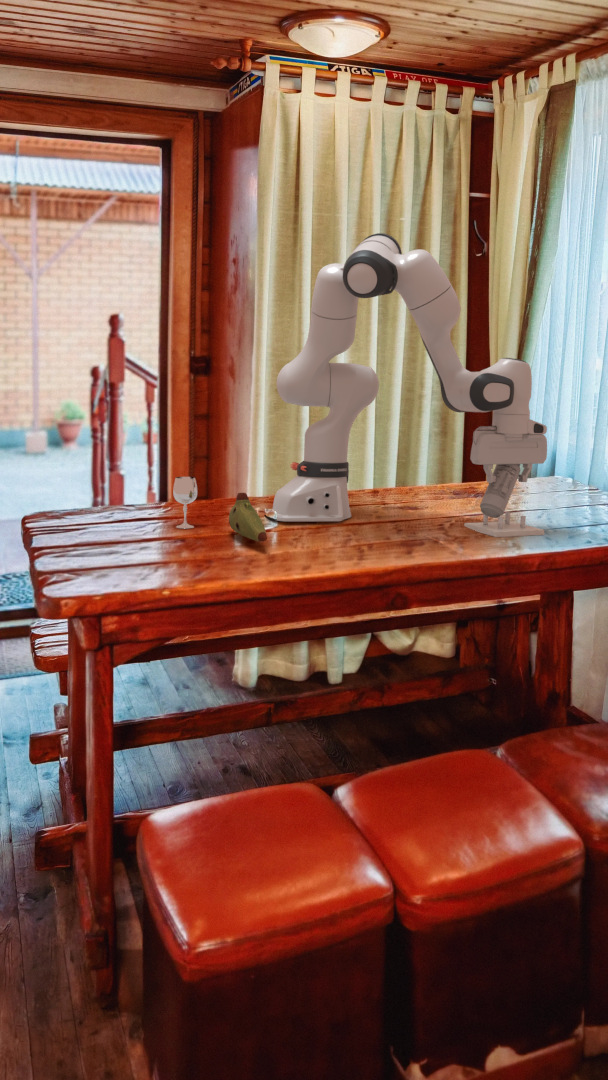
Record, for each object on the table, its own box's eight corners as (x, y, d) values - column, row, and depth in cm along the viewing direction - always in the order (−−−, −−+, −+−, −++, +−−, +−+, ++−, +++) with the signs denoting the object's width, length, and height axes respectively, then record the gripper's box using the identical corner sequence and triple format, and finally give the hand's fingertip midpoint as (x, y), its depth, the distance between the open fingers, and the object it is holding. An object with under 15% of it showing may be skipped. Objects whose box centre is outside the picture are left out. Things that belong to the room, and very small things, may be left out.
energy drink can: (504, 521, 222) (524, 469, 226) (499, 509, 217) (520, 457, 221) (481, 516, 225) (501, 465, 229) (476, 504, 220) (497, 453, 224)
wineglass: (170, 525, 220) (170, 476, 218) (193, 524, 222) (194, 476, 220) (176, 529, 215) (176, 479, 212) (199, 528, 217) (199, 478, 214)
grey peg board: (495, 537, 215) (496, 519, 215) (464, 527, 228) (465, 511, 227) (544, 534, 221) (545, 517, 220) (510, 525, 233) (511, 509, 233)
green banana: (277, 544, 199) (278, 499, 197) (254, 546, 196) (255, 500, 195) (241, 530, 216) (242, 489, 215) (220, 531, 214) (221, 489, 212)
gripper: (481, 426, 213) (478, 484, 216) (552, 426, 221) (548, 482, 223) (467, 425, 219) (464, 481, 221) (536, 425, 227) (533, 480, 229)
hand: (507, 482), depth 222 cm, fingers closed on energy drink can, 8 cm apart
